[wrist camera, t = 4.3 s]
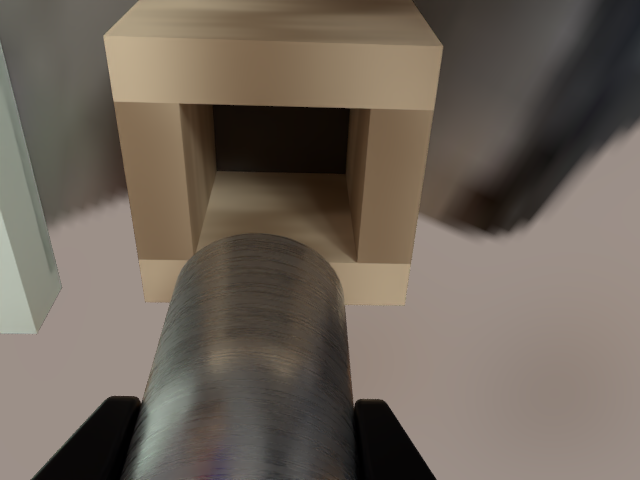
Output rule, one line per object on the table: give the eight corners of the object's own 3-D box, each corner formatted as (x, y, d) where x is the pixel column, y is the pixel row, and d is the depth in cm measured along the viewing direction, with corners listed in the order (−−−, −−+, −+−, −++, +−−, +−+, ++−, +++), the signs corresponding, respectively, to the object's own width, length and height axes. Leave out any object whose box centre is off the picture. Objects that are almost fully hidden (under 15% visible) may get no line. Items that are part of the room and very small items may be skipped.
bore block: (408, -6, 17) (443, 46, 13) (383, 211, 21) (404, 305, 16) (153, -14, 16) (103, 35, 12) (177, 207, 20) (145, 301, 16)
